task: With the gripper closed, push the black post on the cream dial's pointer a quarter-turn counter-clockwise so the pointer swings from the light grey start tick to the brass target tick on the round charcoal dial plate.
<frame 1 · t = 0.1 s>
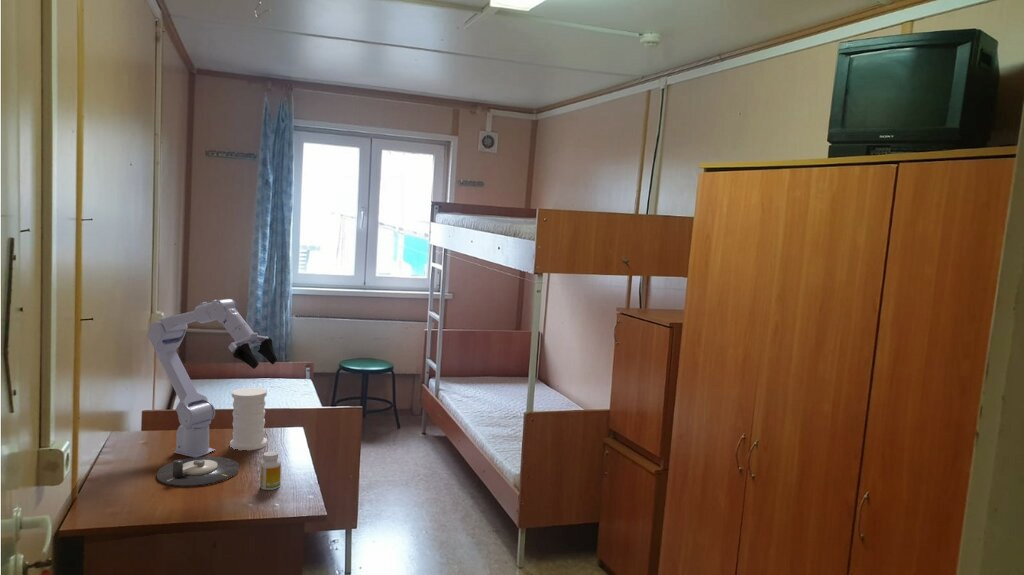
hand: (265, 364, 208), 32 cm above the table, tool tilted 50°, fingers open, 7 cm apart
decorative container: (248, 445, 232), on the table
dial plate: (199, 472, 206), on the table
supplement bottle: (270, 487, 198), on the table
dial: (193, 463, 204), point 3 cm above the table, hinge at 0.0°
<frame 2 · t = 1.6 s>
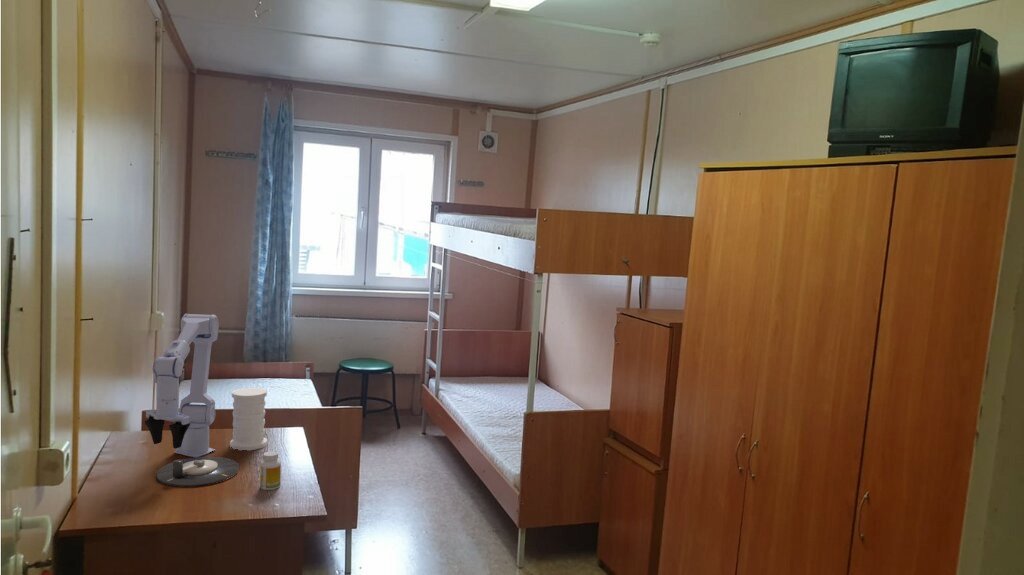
hand: (167, 445, 200), 10 cm above the table, tool pointing down, fingers open, 7 cm apart
nothing on the table moved.
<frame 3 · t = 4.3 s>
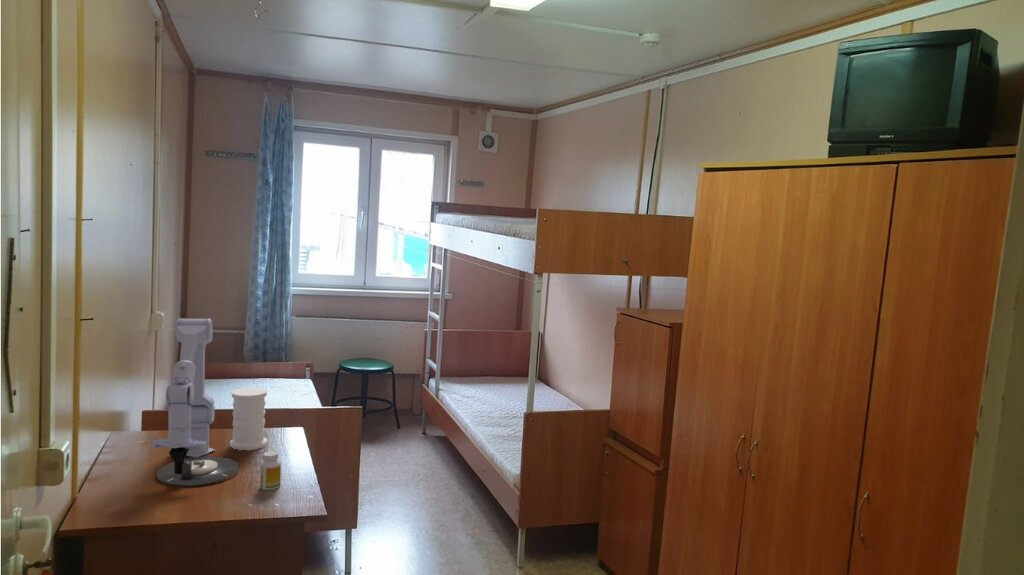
hand: (179, 473, 198), 3 cm above the table, tool pointing down, fingers closed, pressing on dial
dial: (195, 463, 204), point 3 cm above the table, hinge at 21.6°, touching gripper
everything else where it was.
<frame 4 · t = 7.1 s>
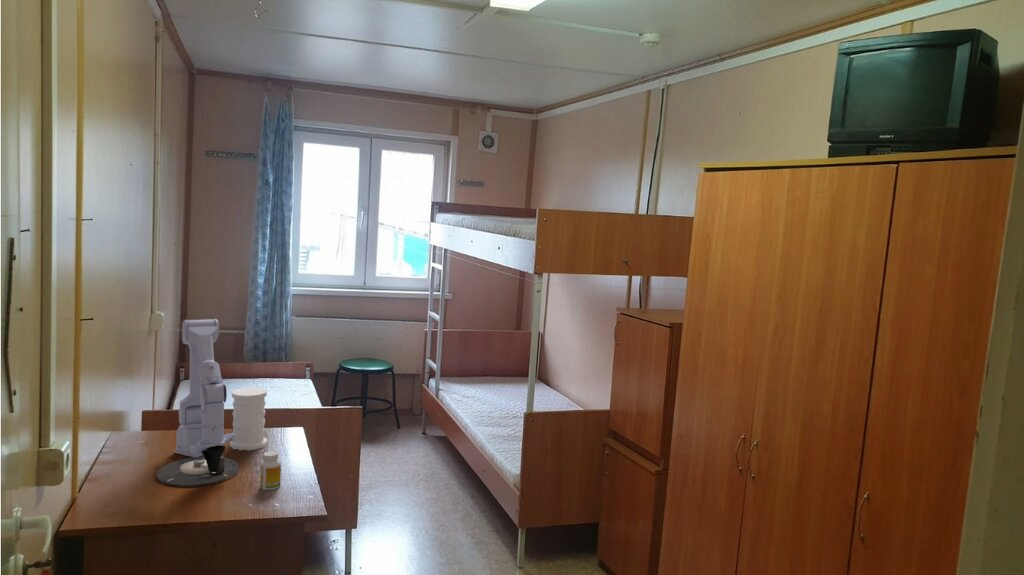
hand: (212, 471, 201), 2 cm above the table, tool pointing down, fingers closed
dial: (204, 462, 205), point 3 cm above the table, hinge at 94.0°, touching gripper
everything else where it was.
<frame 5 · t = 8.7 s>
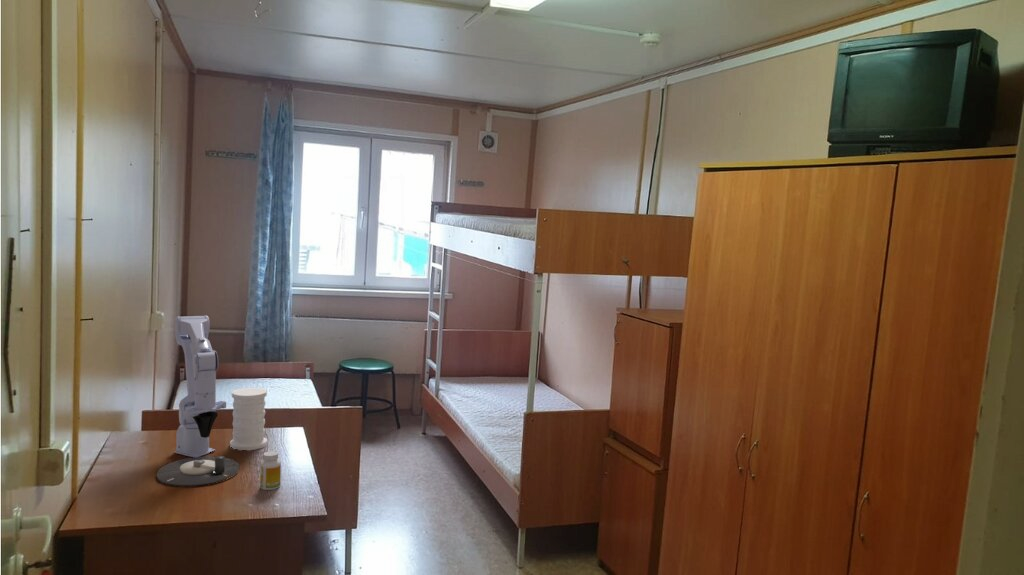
hand: (204, 436, 210), 9 cm above the table, tool pointing down, fingers closed
dial: (204, 462, 205), point 3 cm above the table, hinge at 94.2°
everything else where it was.
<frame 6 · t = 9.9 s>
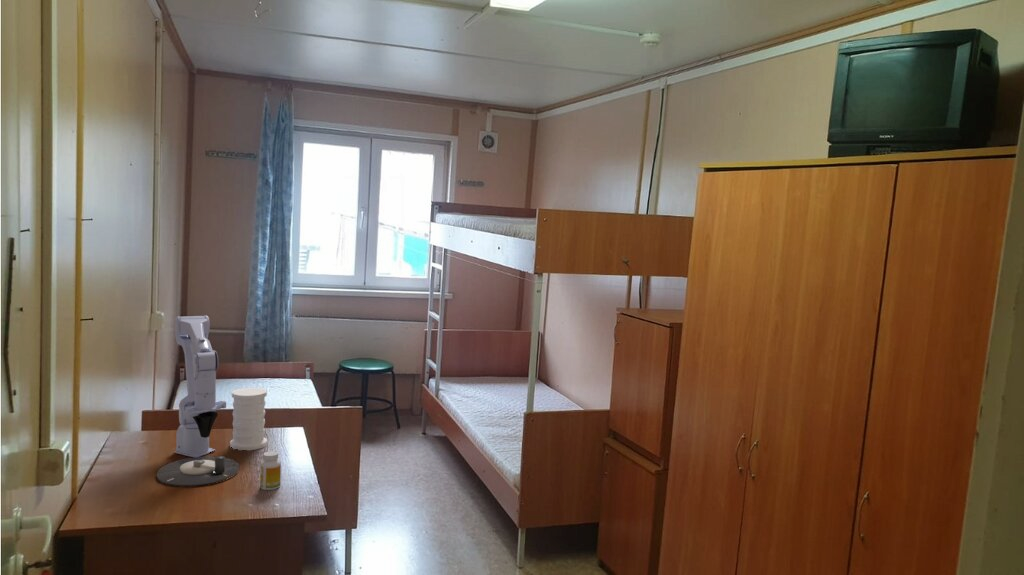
hand: (204, 436, 210), 9 cm above the table, tool pointing down, fingers closed
nothing on the table moved.
at the end: dial at +94° (first picture: +0°) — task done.
